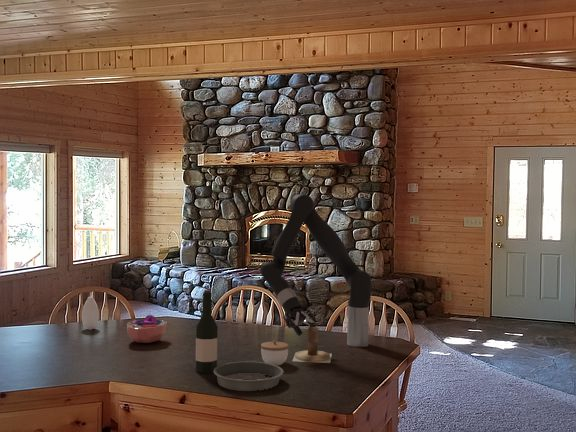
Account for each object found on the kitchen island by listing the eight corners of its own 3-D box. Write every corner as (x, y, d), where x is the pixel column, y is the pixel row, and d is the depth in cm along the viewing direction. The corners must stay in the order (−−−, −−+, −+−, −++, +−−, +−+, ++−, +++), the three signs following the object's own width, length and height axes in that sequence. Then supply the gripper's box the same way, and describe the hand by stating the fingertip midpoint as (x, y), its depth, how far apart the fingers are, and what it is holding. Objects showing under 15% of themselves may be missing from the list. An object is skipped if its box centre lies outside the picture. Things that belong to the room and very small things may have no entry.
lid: (330, 353, 276) (331, 325, 275) (329, 362, 262) (329, 332, 261) (296, 352, 277) (297, 323, 277) (293, 360, 263) (294, 330, 263)
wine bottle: (213, 374, 244) (214, 292, 243) (191, 372, 246) (192, 291, 244) (220, 368, 252) (221, 289, 251) (199, 366, 254) (200, 288, 253)
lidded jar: (290, 362, 263) (291, 338, 263) (284, 369, 253) (285, 344, 252) (264, 359, 266) (265, 336, 265) (257, 366, 255) (257, 342, 255)
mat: (331, 354, 276) (331, 353, 276) (330, 363, 261) (330, 362, 261) (295, 352, 278) (295, 352, 278) (292, 362, 263) (292, 361, 263)
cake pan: (257, 397, 218) (257, 384, 218) (198, 385, 231) (199, 372, 231) (296, 380, 239) (296, 367, 239) (240, 369, 252) (240, 357, 252)
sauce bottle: (96, 331, 312) (96, 292, 311) (79, 330, 312) (79, 292, 311) (100, 327, 320) (101, 290, 319) (84, 327, 320) (84, 290, 319)
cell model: (116, 344, 286) (116, 318, 286) (143, 335, 305) (143, 311, 304) (149, 349, 280) (150, 322, 280) (175, 339, 298) (175, 314, 298)
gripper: (281, 297, 272) (300, 330, 264) (306, 294, 282) (325, 325, 274) (272, 308, 276) (291, 341, 268) (297, 305, 286) (315, 336, 278)
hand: (308, 333), depth 271 cm, fingers open, 8 cm apart
